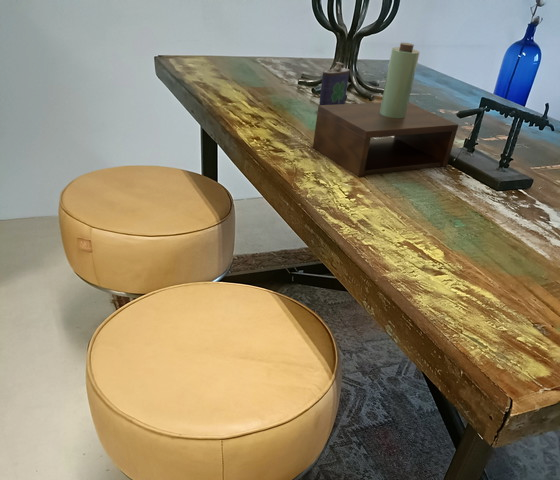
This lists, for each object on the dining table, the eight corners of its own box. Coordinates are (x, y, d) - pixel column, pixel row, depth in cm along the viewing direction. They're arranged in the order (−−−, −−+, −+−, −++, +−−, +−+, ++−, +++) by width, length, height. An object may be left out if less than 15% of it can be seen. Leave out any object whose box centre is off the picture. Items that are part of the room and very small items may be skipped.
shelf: (446, 166, 113) (458, 124, 108) (358, 176, 104) (366, 131, 99) (397, 140, 124) (406, 101, 119) (312, 147, 114) (318, 105, 109)
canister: (410, 117, 109) (426, 47, 101) (390, 119, 106) (405, 46, 99) (394, 110, 112) (409, 41, 104) (374, 111, 110) (387, 40, 102)
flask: (337, 107, 140) (345, 58, 133) (347, 110, 139) (355, 61, 132) (315, 112, 134) (321, 62, 127) (324, 116, 133) (332, 65, 126)
